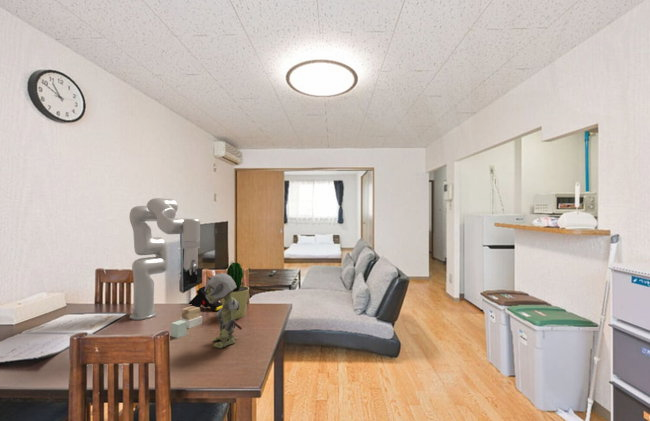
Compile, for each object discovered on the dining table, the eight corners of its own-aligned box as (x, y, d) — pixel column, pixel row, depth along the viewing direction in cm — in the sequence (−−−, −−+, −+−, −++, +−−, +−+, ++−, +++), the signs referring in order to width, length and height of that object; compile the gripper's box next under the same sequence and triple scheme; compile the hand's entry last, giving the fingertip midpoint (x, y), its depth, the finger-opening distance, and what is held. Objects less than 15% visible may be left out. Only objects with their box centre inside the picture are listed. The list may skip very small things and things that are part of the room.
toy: (203, 338, 137) (205, 271, 137) (241, 334, 142) (242, 269, 143) (203, 352, 122) (204, 277, 123) (244, 347, 128) (245, 275, 129)
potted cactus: (252, 312, 175) (253, 259, 176) (242, 321, 160) (243, 263, 160) (227, 310, 177) (227, 259, 177) (214, 319, 161) (215, 262, 162)
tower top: (181, 317, 153) (181, 308, 153) (192, 314, 158) (192, 305, 158) (189, 320, 150) (189, 310, 150) (199, 316, 155) (200, 307, 155)
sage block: (171, 336, 139) (171, 323, 139) (179, 332, 143) (180, 320, 143) (177, 338, 137) (177, 324, 137) (186, 334, 141) (186, 321, 141)
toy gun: (207, 324, 177) (218, 308, 174) (187, 303, 181) (198, 287, 179) (213, 321, 181) (224, 305, 179) (194, 300, 186) (204, 285, 184)
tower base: (179, 326, 152) (179, 318, 152) (192, 321, 159) (192, 314, 159) (189, 329, 149) (189, 320, 149) (202, 324, 155) (202, 316, 155)
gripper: (179, 244, 148) (179, 279, 148) (185, 246, 134) (185, 286, 133) (196, 243, 152) (196, 278, 152) (203, 245, 138) (203, 283, 137)
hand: (191, 281), depth 142 cm, fingers open, 9 cm apart
